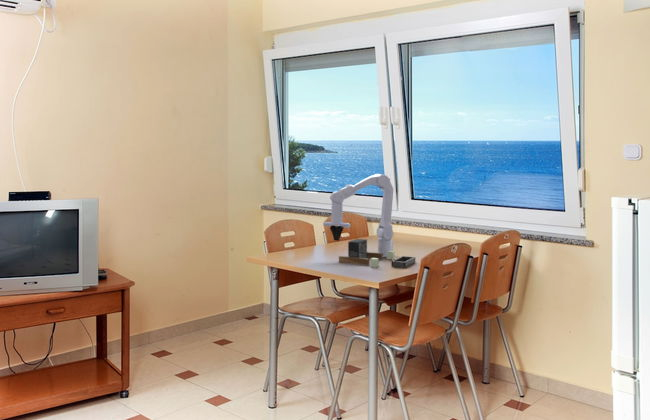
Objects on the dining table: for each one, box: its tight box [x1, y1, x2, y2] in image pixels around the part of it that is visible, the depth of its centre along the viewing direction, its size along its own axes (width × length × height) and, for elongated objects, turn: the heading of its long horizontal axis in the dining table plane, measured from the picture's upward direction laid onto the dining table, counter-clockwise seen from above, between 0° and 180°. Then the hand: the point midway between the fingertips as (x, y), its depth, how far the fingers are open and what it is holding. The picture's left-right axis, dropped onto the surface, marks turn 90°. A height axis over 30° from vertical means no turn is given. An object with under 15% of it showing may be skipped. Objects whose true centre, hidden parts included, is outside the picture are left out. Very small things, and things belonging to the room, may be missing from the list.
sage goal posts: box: [370, 250, 396, 268], centre depth 320 cm, size 26×3×4 cm, turn 154°
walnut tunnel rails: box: [338, 251, 384, 266], centre depth 325 cm, size 20×16×3 cm
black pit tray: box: [390, 255, 416, 269], centre depth 315 cm, size 16×7×3 cm, turn 154°
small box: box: [347, 238, 368, 258], centre depth 326 cm, size 11×6×10 cm, turn 152°
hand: (336, 240), depth 331 cm, fingers closed
